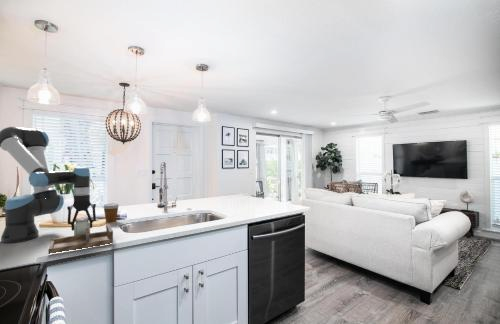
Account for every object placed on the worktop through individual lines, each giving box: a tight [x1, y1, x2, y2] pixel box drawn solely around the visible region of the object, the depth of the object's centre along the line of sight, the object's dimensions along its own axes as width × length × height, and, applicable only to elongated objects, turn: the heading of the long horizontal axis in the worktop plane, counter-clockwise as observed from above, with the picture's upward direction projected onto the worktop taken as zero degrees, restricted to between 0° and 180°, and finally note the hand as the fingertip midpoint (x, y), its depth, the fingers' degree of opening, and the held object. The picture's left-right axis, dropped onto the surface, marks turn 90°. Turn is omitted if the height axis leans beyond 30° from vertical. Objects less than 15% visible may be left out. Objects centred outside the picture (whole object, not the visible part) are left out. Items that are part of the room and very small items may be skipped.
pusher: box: [85, 228, 89, 242], centre depth 127 cm, size 1×14×6 cm, turn 35°
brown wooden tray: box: [47, 223, 114, 255], centre depth 126 cm, size 26×17×7 cm, turn 125°
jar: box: [75, 217, 89, 235], centre depth 139 cm, size 6×6×10 cm
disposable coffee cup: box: [103, 202, 119, 224], centre depth 170 cm, size 10×10×12 cm
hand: (82, 234), depth 139 cm, fingers closed on jar, 6 cm apart
